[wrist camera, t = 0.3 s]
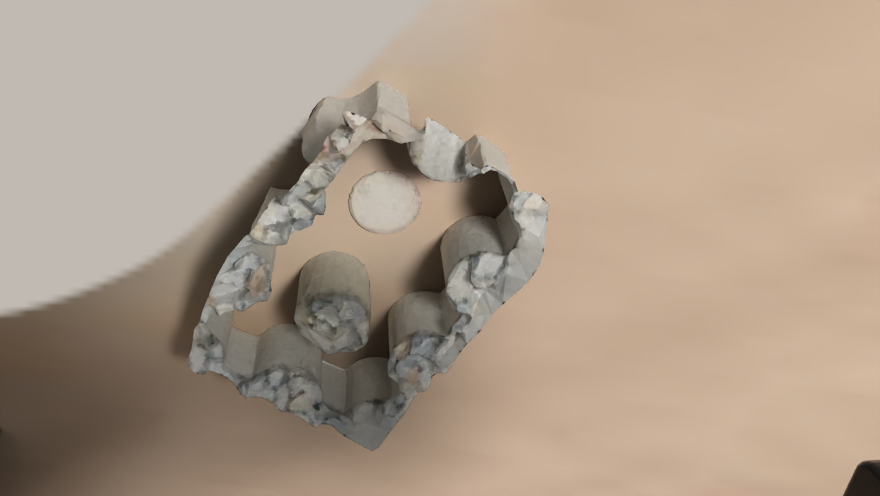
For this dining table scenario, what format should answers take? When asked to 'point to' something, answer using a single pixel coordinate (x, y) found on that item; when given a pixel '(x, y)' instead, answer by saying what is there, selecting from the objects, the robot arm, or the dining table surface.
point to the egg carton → (347, 283)
